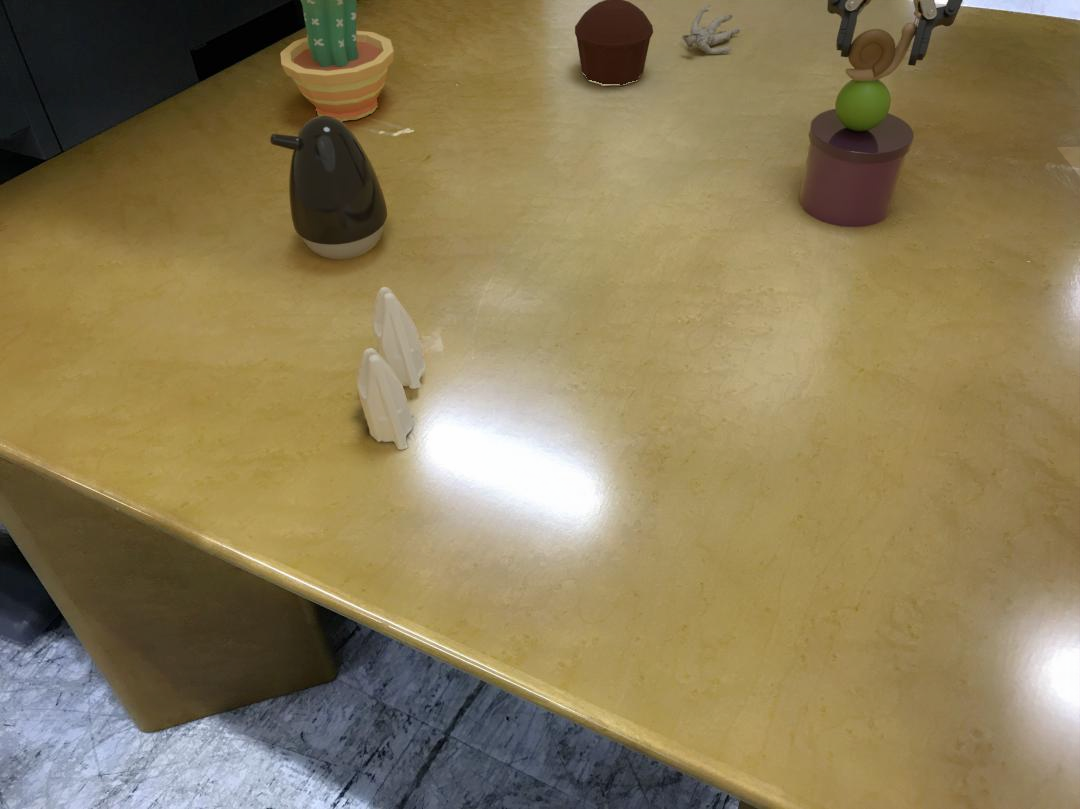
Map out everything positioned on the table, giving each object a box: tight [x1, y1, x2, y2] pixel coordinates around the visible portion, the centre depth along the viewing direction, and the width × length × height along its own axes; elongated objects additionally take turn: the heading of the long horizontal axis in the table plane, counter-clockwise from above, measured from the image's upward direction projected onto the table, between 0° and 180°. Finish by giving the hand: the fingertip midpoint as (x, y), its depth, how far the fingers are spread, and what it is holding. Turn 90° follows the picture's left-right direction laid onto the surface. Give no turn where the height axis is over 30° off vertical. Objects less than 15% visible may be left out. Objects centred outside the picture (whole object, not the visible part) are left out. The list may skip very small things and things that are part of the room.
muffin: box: [574, 0, 654, 85], centre depth 129 cm, size 12×11×10 cm
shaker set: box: [356, 286, 426, 451], centre depth 78 cm, size 12×4×11 cm, turn 175°
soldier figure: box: [681, 4, 741, 55], centre depth 138 cm, size 8×5×12 cm
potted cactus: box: [279, 0, 395, 119], centre depth 118 cm, size 15×15×25 cm
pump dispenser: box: [269, 116, 388, 261], centre depth 96 cm, size 10×10×15 cm
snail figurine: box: [834, 10, 922, 131], centre depth 91 cm, size 5×6×12 cm
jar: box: [798, 108, 915, 228], centre depth 99 cm, size 11×11×11 cm
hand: (878, 57), depth 89 cm, fingers closed on snail figurine, 6 cm apart
